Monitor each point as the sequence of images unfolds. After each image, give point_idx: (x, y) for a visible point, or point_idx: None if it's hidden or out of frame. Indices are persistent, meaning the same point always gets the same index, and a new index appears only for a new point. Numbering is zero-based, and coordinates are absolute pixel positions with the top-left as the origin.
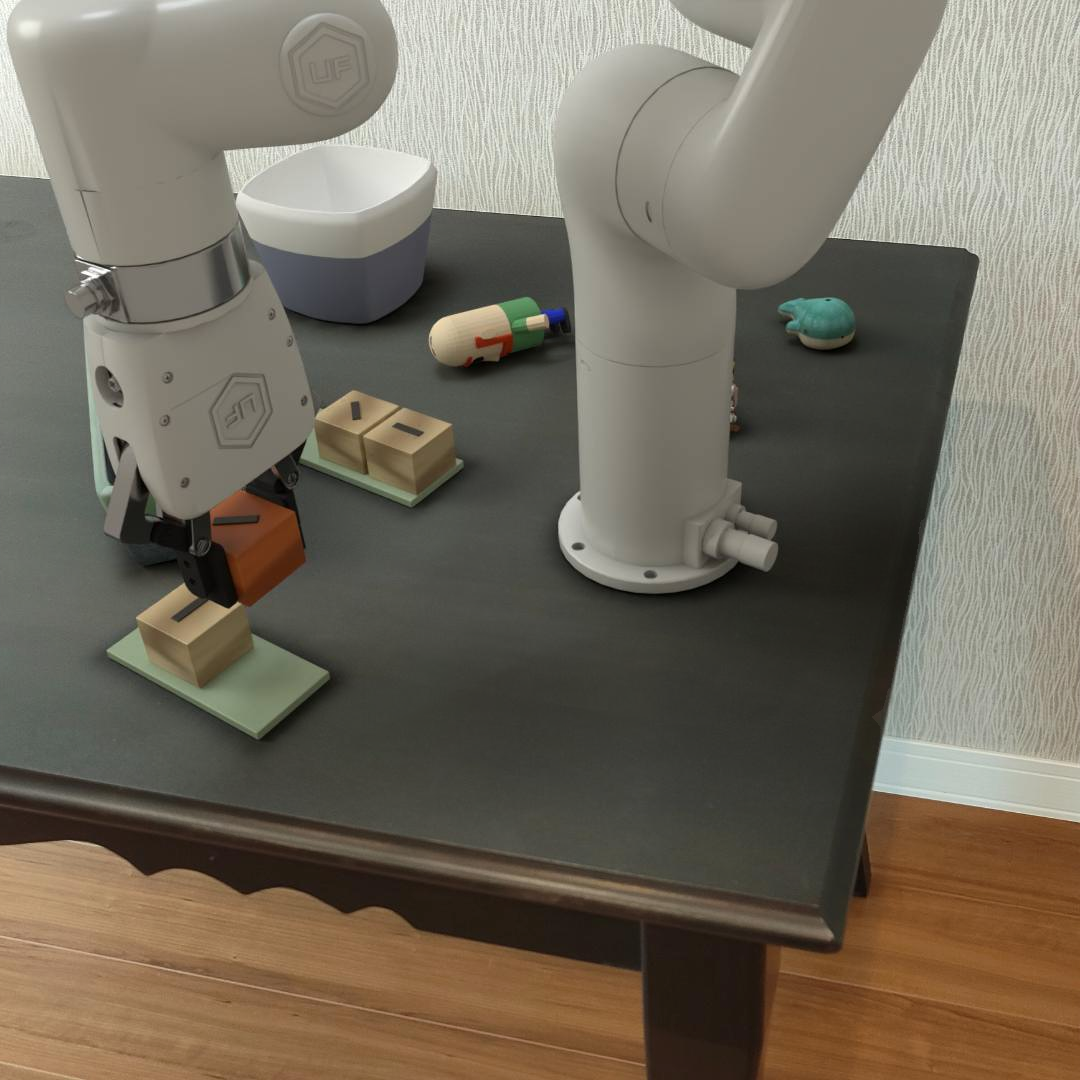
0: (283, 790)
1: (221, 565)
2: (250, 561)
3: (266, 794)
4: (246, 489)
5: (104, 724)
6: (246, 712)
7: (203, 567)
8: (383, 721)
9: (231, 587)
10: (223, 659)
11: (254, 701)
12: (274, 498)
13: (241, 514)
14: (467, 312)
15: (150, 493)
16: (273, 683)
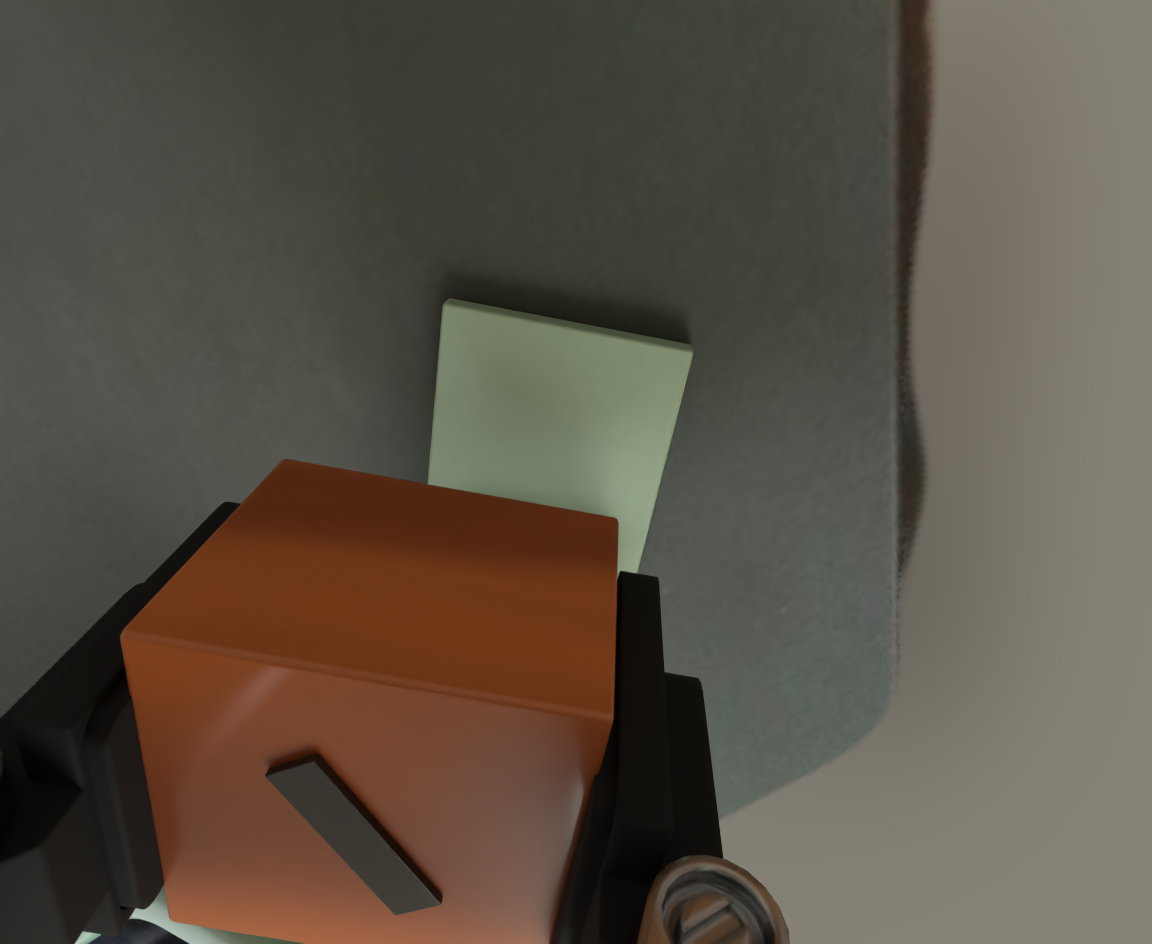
0: (820, 194)
1: (652, 736)
2: (532, 636)
3: (843, 227)
4: (153, 895)
5: (752, 646)
6: (643, 410)
7: (686, 791)
8: (514, 72)
9: (628, 624)
10: None
11: (605, 413)
12: (115, 776)
13: (307, 835)
14: None
15: (265, 938)
16: (535, 406)
